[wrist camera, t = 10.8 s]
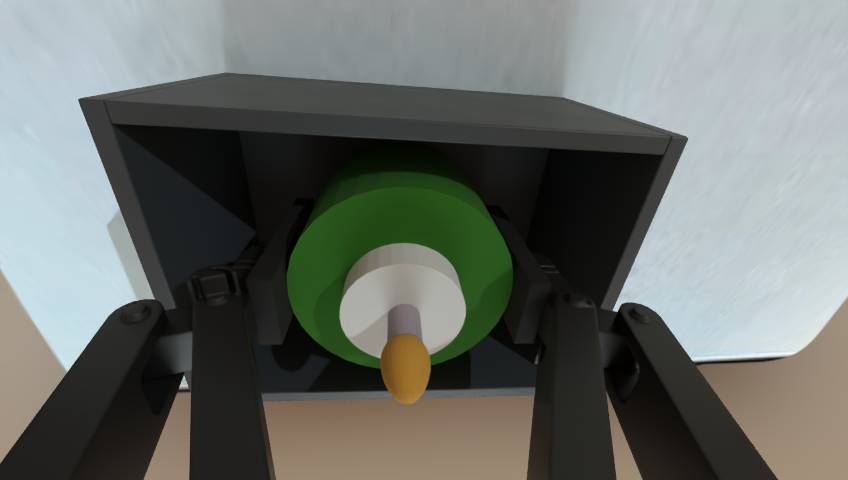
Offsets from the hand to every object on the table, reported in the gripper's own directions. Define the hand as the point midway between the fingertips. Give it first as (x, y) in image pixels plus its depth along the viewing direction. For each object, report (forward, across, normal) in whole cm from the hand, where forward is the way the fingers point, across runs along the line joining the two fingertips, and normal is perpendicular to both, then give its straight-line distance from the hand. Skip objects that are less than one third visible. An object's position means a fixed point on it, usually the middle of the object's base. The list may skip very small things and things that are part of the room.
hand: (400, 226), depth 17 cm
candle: (+1, 0, 0) cm, 1 cm away
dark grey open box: (+4, 0, 0) cm, 4 cm away
